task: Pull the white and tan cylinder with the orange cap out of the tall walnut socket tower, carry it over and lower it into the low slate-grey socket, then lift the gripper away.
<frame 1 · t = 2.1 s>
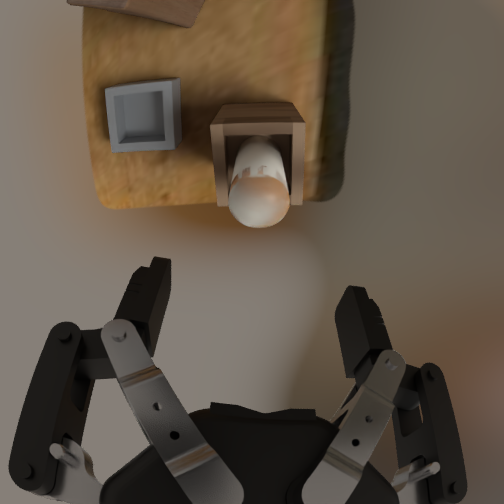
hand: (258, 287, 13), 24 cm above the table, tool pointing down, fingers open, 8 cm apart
low socket: (149, 111, 31), on the table
wooden block: (163, 2, 23), on the table
socket tower: (258, 134, 33), on the table
white and tan cylinder: (258, 156, 27), point 7 cm above the table, touching socket tower
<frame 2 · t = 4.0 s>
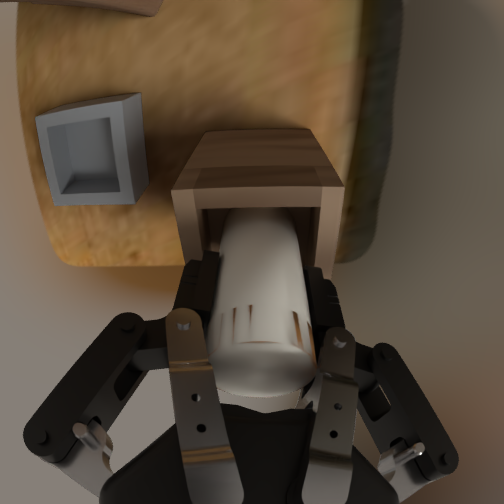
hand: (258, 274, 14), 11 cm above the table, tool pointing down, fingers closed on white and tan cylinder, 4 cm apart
low socket: (102, 143, 21), on the table
socket tower: (259, 176, 23), on the table
white and tan cylinder: (259, 229, 17), point 7 cm above the table, touching gripper, socket tower
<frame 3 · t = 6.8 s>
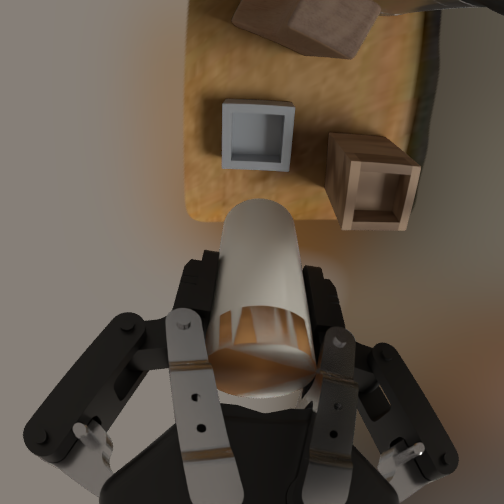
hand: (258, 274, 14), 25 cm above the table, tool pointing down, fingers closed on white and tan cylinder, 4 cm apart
low socket: (257, 130, 34), on the table
wooden block: (279, 24, 26), on the table
socket tower: (355, 162, 36), on the table
white and tan cylinder: (259, 230, 17), point 21 cm above the table, touching gripper
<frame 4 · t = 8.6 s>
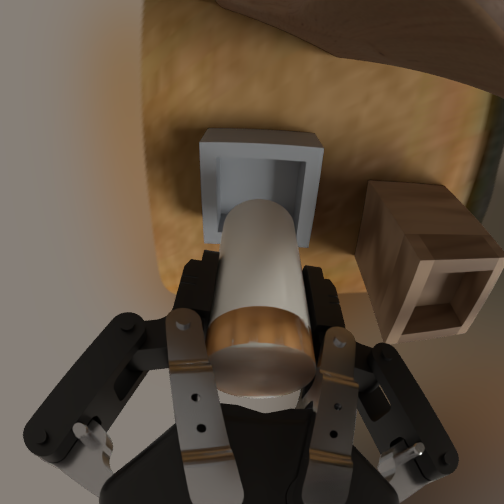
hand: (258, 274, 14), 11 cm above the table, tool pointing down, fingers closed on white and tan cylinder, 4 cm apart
low socket: (259, 177, 23), on the table
wooden block: (294, 4, 15), on the table
socket tower: (400, 221, 25), on the table
white and tan cylinder: (258, 230, 17), point 7 cm above the table, touching gripper
when the fingers open (6 cm above the table, at t = 9.8 s): white and tan cylinder drops 1 cm, resting on low socket.
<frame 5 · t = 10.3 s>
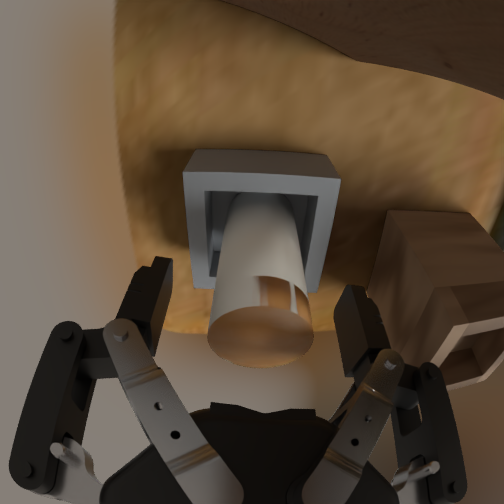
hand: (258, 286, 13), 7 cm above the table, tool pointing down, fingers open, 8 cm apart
low socket: (258, 207, 19), on the table
socket tower: (419, 253, 21), on the table
white and tan cylinder: (260, 217, 18), point 1 cm above the table, touching low socket
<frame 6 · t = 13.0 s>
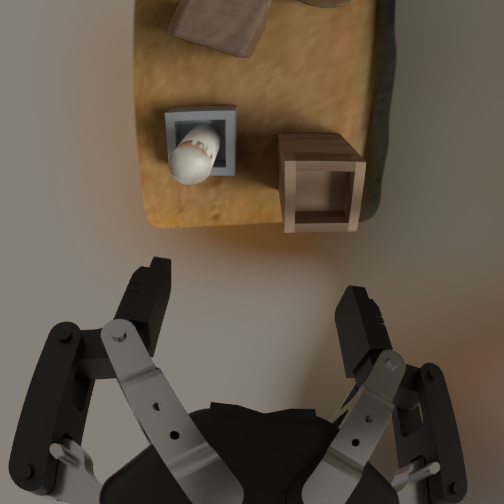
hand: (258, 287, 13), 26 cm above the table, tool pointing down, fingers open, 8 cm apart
low socket: (205, 136, 34), on the table
wooden block: (220, 29, 27), on the table
socket tower: (308, 162, 36), on the table
white and tan cylinder: (204, 138, 34), point 1 cm above the table, touching low socket
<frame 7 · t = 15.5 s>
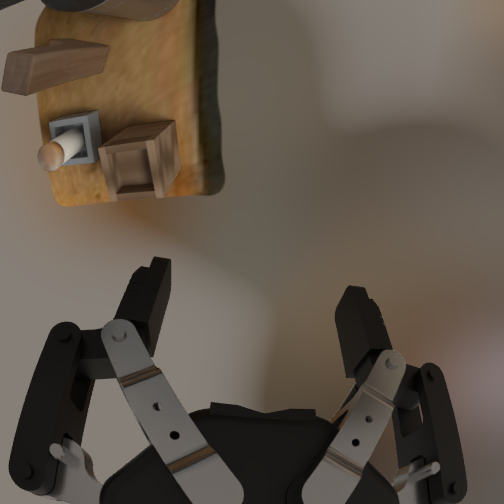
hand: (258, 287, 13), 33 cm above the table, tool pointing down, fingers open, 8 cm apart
low socket: (81, 135, 40), on the table
wooden block: (83, 54, 32), on the table
socket tower: (154, 146, 42), on the table
white and tan cylinder: (79, 137, 39), point 1 cm above the table, touching low socket
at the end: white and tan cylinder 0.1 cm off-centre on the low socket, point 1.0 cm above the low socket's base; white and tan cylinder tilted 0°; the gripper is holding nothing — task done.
